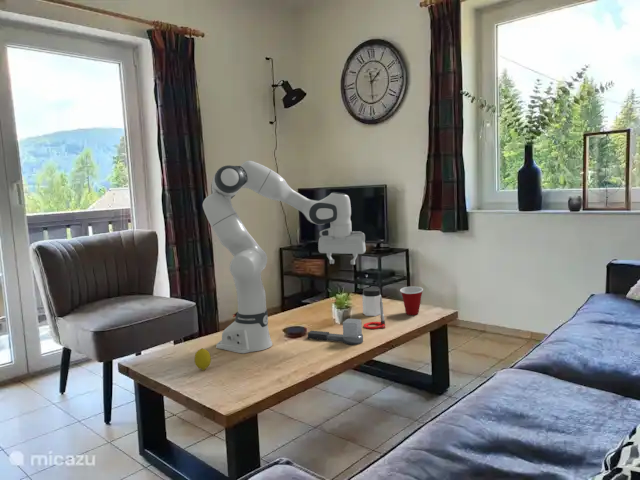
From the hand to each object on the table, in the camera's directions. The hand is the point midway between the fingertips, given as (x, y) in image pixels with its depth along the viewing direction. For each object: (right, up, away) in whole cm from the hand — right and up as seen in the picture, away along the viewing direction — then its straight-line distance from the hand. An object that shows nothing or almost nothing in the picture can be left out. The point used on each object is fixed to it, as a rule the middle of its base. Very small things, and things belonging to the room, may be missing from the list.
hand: (342, 264), depth 212 cm
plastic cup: (+34, -25, +26) cm, 50 cm away
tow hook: (+14, -28, +9) cm, 33 cm away
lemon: (-50, -36, -35) cm, 71 cm away
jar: (+15, -25, +29) cm, 41 cm away
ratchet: (-3, -30, -8) cm, 31 cm away
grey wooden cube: (+4, -28, -11) cm, 30 cm away
